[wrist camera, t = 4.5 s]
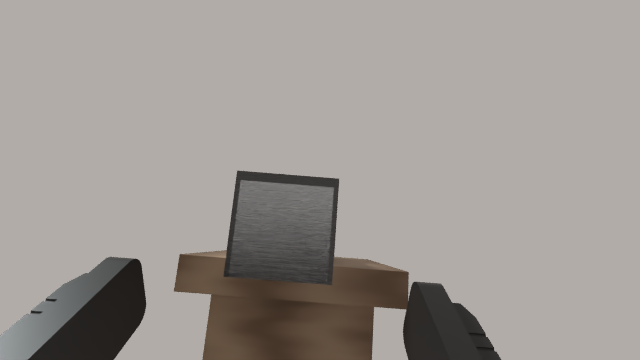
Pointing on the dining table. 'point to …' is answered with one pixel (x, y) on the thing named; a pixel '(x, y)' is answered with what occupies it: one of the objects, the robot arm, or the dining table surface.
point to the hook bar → (282, 228)
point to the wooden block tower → (292, 310)
